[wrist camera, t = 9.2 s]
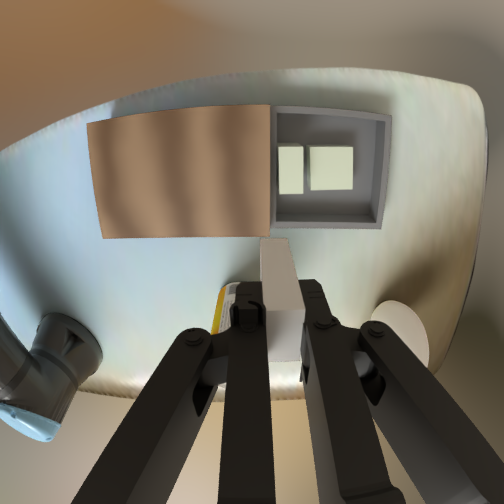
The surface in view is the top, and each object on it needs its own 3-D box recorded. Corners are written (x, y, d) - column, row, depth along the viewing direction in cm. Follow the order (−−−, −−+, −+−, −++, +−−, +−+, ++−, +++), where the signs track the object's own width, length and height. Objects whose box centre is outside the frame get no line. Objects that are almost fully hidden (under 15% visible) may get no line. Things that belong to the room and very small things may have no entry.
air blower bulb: (413, 295, 43) (464, 374, 27) (388, 331, 46) (425, 413, 30) (377, 282, 42) (426, 369, 25) (352, 321, 45) (385, 412, 29)
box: (267, 218, 38) (268, 228, 35) (267, 106, 32) (268, 105, 28) (371, 219, 37) (381, 229, 34) (380, 114, 31) (391, 115, 28)
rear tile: (352, 189, 33) (346, 184, 35) (352, 147, 30) (346, 144, 33) (310, 190, 33) (307, 185, 35) (309, 146, 31) (306, 144, 33)
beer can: (225, 316, 45) (214, 394, 31) (213, 283, 42) (195, 360, 29) (264, 308, 44) (266, 387, 30) (254, 274, 41) (252, 352, 28)
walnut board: (121, 221, 38) (102, 238, 33) (110, 120, 32) (86, 123, 27) (267, 218, 38) (269, 236, 32) (267, 106, 32) (269, 104, 26)
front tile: (279, 194, 31) (303, 193, 30) (278, 146, 28) (303, 146, 28) (276, 183, 35) (297, 183, 35) (275, 142, 33) (297, 142, 33)
